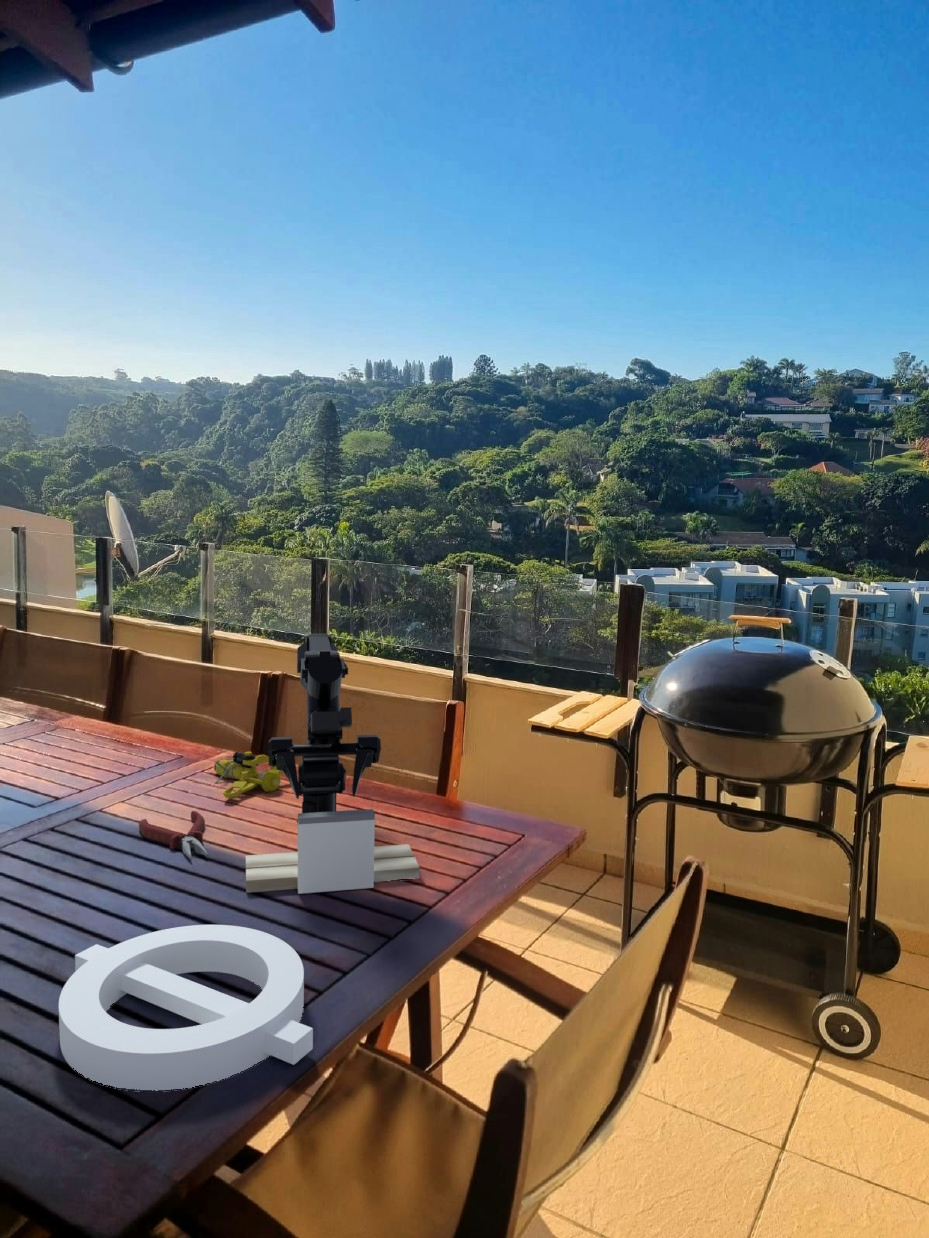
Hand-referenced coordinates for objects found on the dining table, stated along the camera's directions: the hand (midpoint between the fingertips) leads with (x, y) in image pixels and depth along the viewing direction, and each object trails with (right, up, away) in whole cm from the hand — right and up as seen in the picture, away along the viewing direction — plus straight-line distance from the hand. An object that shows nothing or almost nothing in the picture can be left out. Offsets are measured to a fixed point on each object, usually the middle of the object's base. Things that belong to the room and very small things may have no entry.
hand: (326, 796), depth 145 cm
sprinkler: (-26, -7, +46) cm, 53 cm away
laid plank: (+1, -13, +3) cm, 14 cm away
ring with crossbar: (-11, -19, -38) cm, 44 cm away
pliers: (-30, -11, +14) cm, 35 cm away
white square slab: (+2, -14, -3) cm, 15 cm away
